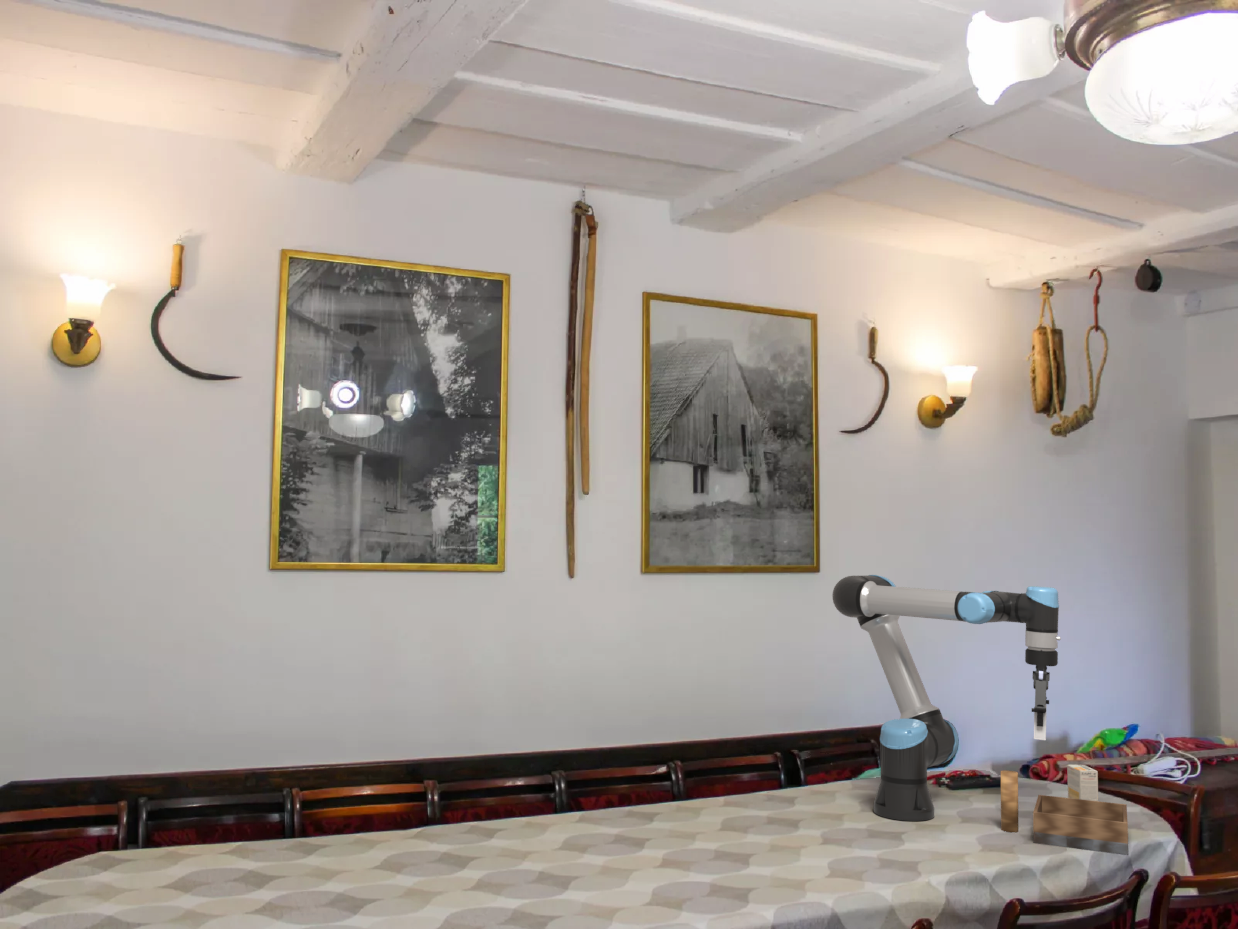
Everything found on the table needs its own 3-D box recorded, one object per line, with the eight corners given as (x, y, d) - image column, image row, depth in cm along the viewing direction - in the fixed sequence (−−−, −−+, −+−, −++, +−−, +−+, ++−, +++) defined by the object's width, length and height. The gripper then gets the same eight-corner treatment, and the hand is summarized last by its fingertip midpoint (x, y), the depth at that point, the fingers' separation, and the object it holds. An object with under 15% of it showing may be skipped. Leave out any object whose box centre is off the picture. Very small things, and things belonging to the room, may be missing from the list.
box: (1033, 842, 244) (1033, 812, 245) (1038, 823, 263) (1038, 794, 263) (1128, 855, 236) (1127, 823, 236) (1127, 833, 254) (1126, 804, 254)
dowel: (1000, 831, 254) (999, 772, 255) (1001, 827, 258) (1001, 769, 259) (1017, 833, 253) (1017, 774, 254) (1019, 829, 256) (1018, 771, 257)
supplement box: (1099, 823, 263) (1098, 771, 264) (1080, 823, 263) (1079, 770, 264) (1085, 815, 271) (1085, 764, 272) (1067, 814, 271) (1066, 763, 272)
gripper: (1058, 655, 247) (1056, 745, 246) (1057, 645, 270) (1056, 728, 269) (1024, 652, 250) (1022, 741, 249) (1026, 643, 273) (1025, 724, 272)
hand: (1040, 734), depth 259 cm, fingers open, 13 cm apart
